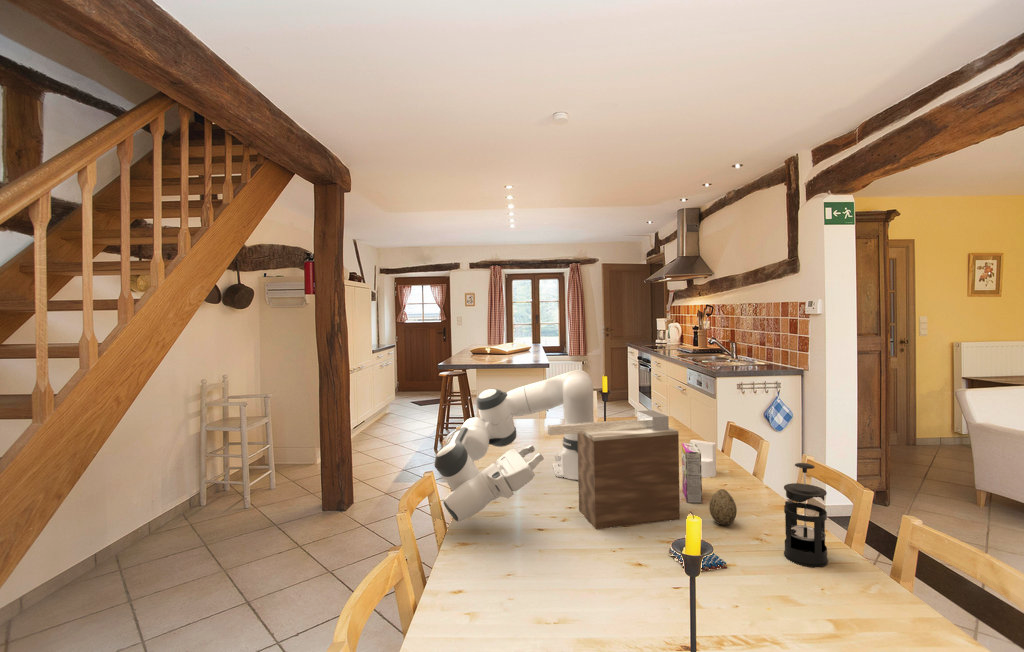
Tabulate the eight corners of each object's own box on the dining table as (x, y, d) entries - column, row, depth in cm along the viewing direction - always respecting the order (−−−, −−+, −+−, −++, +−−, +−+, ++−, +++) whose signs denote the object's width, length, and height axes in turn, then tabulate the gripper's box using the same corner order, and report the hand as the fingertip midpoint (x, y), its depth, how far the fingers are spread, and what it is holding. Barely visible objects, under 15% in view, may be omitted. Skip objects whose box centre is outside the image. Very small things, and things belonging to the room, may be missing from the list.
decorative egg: (739, 530, 139) (739, 494, 139) (712, 528, 140) (712, 493, 140) (733, 519, 146) (732, 485, 146) (707, 518, 147) (706, 484, 147)
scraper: (544, 430, 150) (544, 417, 150) (652, 422, 158) (652, 410, 158) (554, 438, 141) (553, 424, 141) (668, 429, 148) (668, 416, 148)
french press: (840, 567, 118) (839, 469, 117) (802, 570, 117) (801, 472, 116) (805, 544, 129) (804, 455, 129) (771, 547, 128) (770, 457, 128)
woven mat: (703, 550, 129) (703, 542, 129) (729, 570, 118) (729, 562, 118) (665, 555, 127) (665, 547, 127) (689, 576, 116) (688, 567, 116)
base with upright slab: (720, 473, 187) (719, 441, 187) (710, 479, 181) (710, 446, 181) (696, 468, 194) (695, 437, 193) (686, 474, 187) (685, 442, 187)
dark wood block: (579, 510, 155) (577, 426, 155) (656, 502, 161) (655, 421, 160) (595, 529, 142) (593, 437, 141) (679, 519, 147) (678, 430, 146)
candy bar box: (681, 491, 170) (680, 442, 170) (697, 491, 169) (696, 443, 169) (686, 503, 159) (685, 451, 159) (702, 504, 158) (701, 452, 158)
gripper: (496, 476, 153) (534, 450, 155) (510, 500, 133) (553, 470, 135) (485, 459, 152) (523, 434, 154) (497, 481, 132) (541, 451, 134)
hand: (537, 451), depth 145 cm, fingers open, 8 cm apart
